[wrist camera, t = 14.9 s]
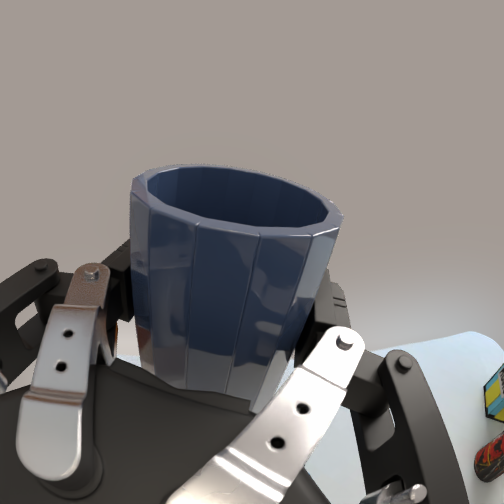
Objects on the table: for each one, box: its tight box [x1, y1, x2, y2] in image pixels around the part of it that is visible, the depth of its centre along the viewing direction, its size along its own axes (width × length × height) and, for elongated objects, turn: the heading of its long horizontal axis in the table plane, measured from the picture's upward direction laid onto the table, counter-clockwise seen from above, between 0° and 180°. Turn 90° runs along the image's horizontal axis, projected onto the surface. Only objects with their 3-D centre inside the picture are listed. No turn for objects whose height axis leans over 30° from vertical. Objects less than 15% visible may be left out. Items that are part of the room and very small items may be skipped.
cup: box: [130, 164, 344, 414], centre depth 10 cm, size 6×6×10 cm
